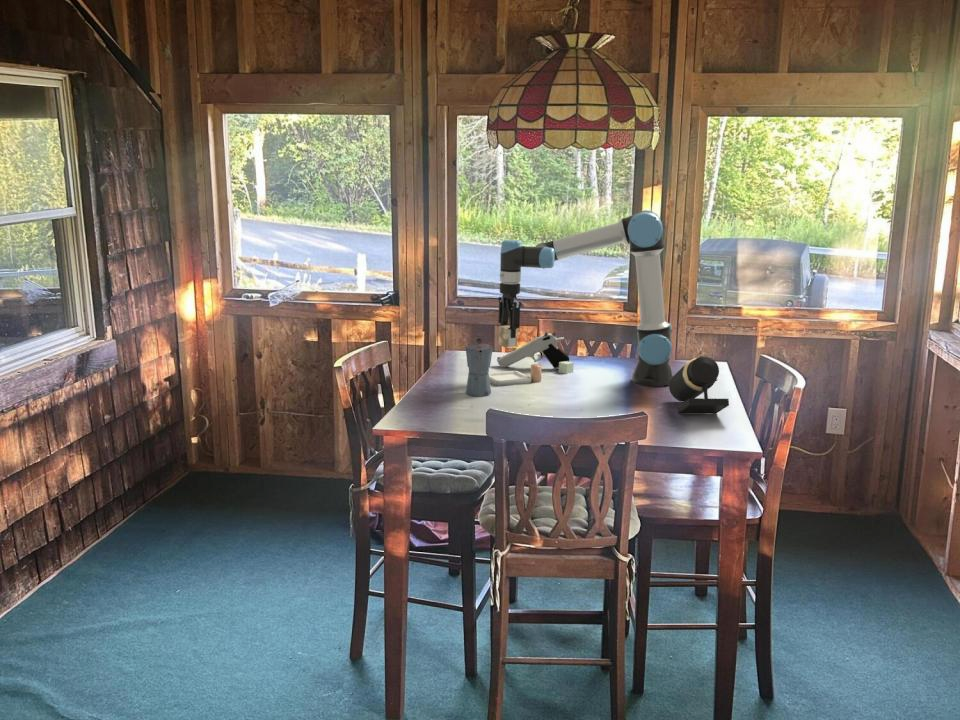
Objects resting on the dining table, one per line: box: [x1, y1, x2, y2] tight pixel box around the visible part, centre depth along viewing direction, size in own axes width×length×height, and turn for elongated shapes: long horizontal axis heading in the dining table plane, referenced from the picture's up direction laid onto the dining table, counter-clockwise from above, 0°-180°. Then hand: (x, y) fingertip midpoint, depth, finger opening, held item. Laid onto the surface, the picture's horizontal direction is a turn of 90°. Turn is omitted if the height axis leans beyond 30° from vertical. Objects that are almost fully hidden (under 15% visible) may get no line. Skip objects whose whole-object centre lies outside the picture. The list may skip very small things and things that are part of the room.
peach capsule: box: [530, 363, 543, 383], centre depth 337 cm, size 4×4×6 cm
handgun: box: [496, 331, 571, 371], centre depth 357 cm, size 4×28×15 cm, turn 84°
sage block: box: [558, 361, 574, 375], centre depth 352 cm, size 4×4×4 cm
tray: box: [488, 370, 532, 387], centre depth 337 cm, size 12×14×2 cm
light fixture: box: [668, 355, 730, 414], centre depth 302 cm, size 13×18×26 cm
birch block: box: [498, 325, 519, 348], centre depth 333 cm, size 5×5×7 cm
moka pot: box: [465, 338, 494, 397], centre depth 317 cm, size 10×15×20 cm, turn 9°
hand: (508, 344), depth 334 cm, fingers closed on birch block, 5 cm apart
